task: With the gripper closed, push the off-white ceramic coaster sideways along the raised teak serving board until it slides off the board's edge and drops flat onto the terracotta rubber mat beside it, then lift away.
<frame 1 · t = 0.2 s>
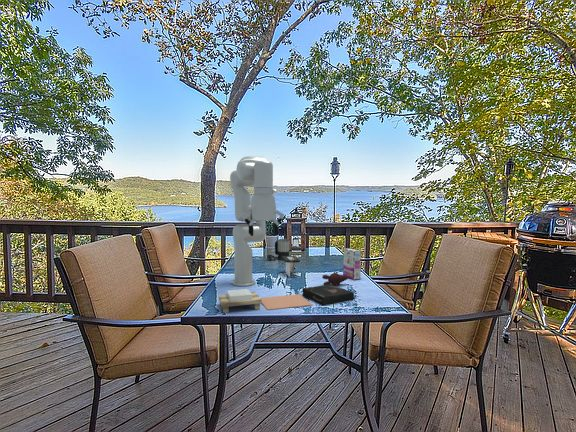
hand: (263, 235, 134), 31 cm above the table, tool pointing down, fingers open, 9 cm apart
candy bar box: (351, 278, 192), on the table
mat: (284, 302, 147), on the table
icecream: (336, 285, 176), on the table
serving board: (239, 306, 140), on the table
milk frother: (278, 259, 247), on the table
coaster: (239, 297, 140), point 4 cm above the table, touching serving board
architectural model: (290, 275, 199), on the table
portable cd player: (327, 299, 153), on the table
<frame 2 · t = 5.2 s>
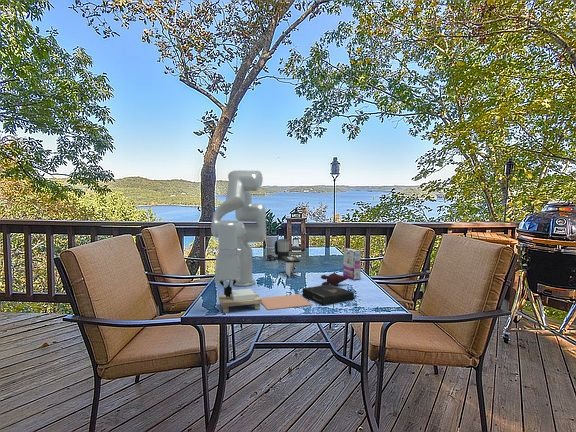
hand: (227, 296, 138), 5 cm above the table, tool pointing down, fingers closed
coaster: (242, 296, 140), point 4 cm above the table
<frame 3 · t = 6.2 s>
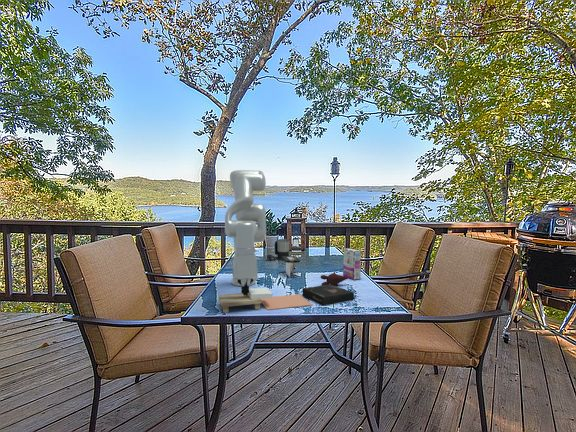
hand: (245, 294, 141), 5 cm above the table, tool pointing down, fingers closed
coaster: (259, 295, 143), point 4 cm above the table, touching gripper, serving board
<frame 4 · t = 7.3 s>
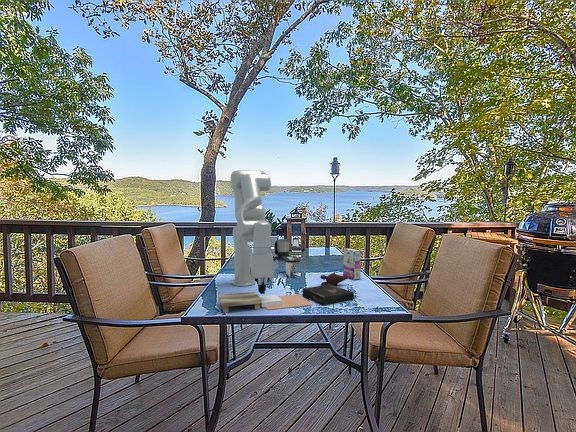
hand: (262, 293, 143), 5 cm above the table, tool pointing down, fingers closed
coaster: (269, 303, 144), resting on mat
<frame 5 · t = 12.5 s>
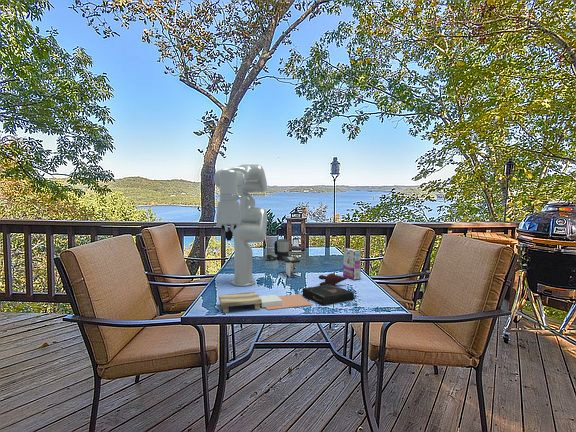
hand: (228, 240, 146), 27 cm above the table, tool pointing down, fingers closed
at the end: coaster resting on mat; coaster inside the target area on the mat (7.2 cm from its centre), point 0.4 cm above the mat's base; coaster tilted 0° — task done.
